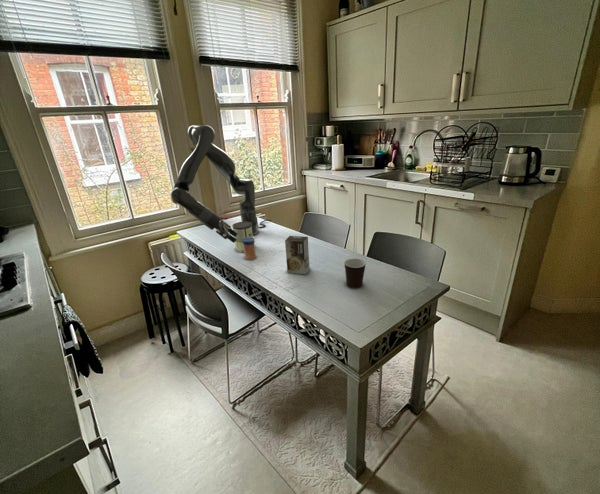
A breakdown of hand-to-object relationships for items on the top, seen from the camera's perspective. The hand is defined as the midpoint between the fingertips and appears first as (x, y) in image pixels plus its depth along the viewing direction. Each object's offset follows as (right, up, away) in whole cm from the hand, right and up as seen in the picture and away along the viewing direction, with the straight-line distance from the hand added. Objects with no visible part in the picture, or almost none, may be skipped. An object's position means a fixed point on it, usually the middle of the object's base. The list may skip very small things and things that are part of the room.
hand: (235, 238), depth 158 cm
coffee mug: (+56, -20, -24) cm, 64 cm away
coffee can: (+2, -5, +17) cm, 18 cm away
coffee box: (+31, -16, -11) cm, 37 cm away
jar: (+7, -10, +5) cm, 13 cm away
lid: (+6, -1, +1) cm, 6 cm away
